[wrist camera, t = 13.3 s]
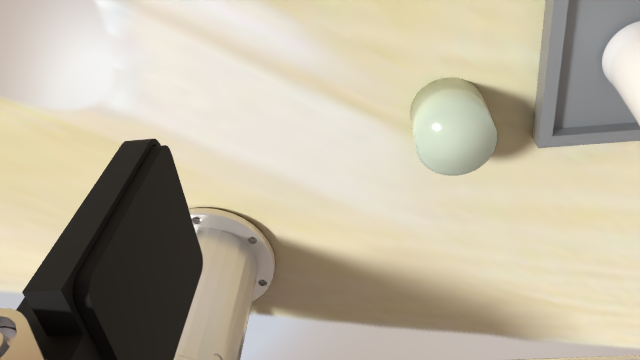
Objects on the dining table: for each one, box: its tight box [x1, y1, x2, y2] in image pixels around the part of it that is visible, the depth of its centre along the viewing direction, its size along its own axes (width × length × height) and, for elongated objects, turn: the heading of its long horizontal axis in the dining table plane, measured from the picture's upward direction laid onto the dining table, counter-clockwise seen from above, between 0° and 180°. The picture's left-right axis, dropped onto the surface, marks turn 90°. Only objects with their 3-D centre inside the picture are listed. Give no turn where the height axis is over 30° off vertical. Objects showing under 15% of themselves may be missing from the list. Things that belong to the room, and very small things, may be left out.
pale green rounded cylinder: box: [410, 78, 497, 176], centre depth 44 cm, size 6×6×5 cm
